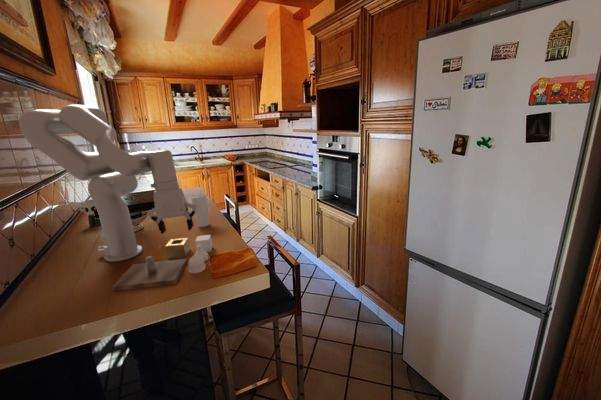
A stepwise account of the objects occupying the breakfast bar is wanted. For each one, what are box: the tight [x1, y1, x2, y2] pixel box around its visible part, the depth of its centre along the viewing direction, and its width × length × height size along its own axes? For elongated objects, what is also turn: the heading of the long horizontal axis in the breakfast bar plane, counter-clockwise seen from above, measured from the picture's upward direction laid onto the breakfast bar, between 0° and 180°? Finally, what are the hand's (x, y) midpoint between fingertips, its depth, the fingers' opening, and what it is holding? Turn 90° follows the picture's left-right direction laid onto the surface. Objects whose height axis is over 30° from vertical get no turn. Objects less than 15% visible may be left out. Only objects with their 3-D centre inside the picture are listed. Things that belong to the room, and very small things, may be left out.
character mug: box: [78, 199, 101, 227], centre depth 146 cm, size 11×7×13 cm, turn 107°
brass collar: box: [165, 237, 191, 260], centre depth 106 cm, size 6×6×5 cm
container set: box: [187, 234, 213, 274], centre depth 101 cm, size 20×5×6 cm, turn 9°
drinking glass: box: [191, 193, 210, 228], centre depth 134 cm, size 7×7×15 cm
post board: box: [111, 255, 188, 292], centre depth 91 cm, size 18×14×6 cm
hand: (177, 230), depth 104 cm, fingers open, 9 cm apart
